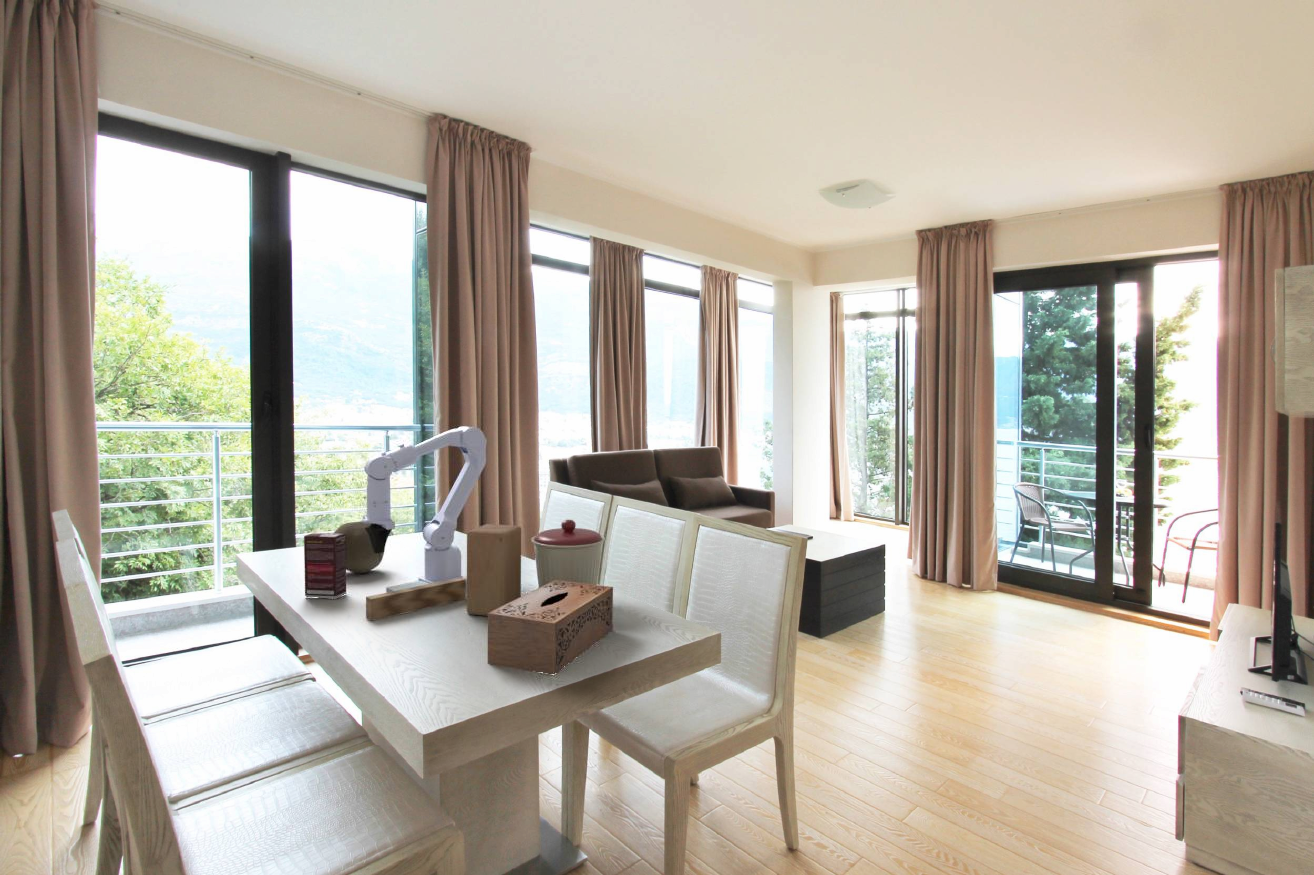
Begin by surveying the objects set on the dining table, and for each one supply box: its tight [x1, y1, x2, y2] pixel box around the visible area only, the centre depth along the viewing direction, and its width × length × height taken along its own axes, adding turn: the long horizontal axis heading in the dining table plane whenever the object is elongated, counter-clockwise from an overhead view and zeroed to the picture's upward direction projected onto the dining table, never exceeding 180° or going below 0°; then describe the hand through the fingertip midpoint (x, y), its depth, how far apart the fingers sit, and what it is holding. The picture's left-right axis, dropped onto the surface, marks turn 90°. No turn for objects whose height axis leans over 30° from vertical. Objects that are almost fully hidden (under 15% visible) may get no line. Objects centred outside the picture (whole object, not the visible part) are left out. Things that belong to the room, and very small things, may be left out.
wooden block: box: [466, 523, 522, 617], centre depth 154 cm, size 10×10×20 cm
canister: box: [530, 519, 606, 588], centre depth 160 cm, size 18×18×21 cm
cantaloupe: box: [333, 520, 386, 574], centre depth 185 cm, size 14×14×15 cm
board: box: [365, 578, 467, 622], centre depth 155 cm, size 24×2×5 cm, turn 137°
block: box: [385, 579, 430, 593], centre depth 158 cm, size 9×7×4 cm
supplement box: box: [303, 532, 347, 600], centre depth 162 cm, size 9×5×16 cm, turn 84°
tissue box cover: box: [487, 580, 614, 675], centre depth 132 cm, size 26×14×10 cm, turn 159°
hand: (378, 552), depth 171 cm, fingers closed
